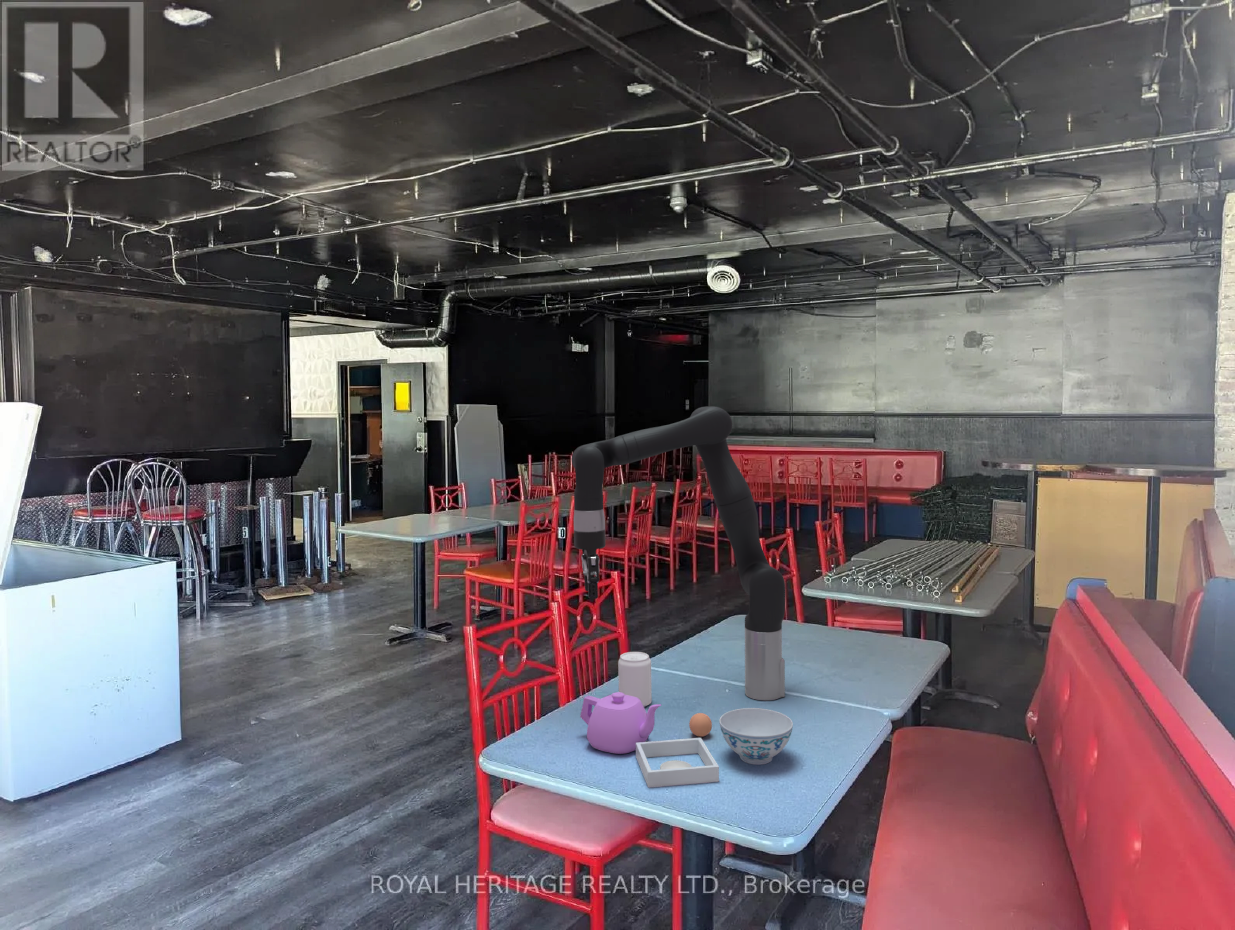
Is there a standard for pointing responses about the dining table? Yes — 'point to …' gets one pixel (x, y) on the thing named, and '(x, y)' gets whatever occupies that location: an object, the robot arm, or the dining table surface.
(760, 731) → the chinaware
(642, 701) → the beverage can
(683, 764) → the disc
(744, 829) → the dining table surface
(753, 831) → the dining table surface
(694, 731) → the ball
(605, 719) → the teapot
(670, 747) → the grey square frame
